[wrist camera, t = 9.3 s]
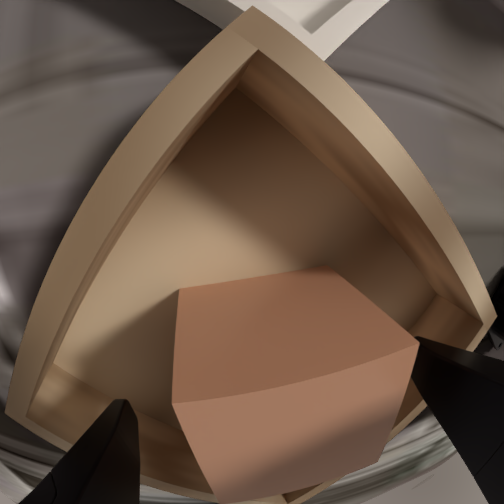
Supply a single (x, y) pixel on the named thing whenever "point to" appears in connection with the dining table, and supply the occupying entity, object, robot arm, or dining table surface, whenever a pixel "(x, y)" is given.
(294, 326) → the clay block
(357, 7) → the tray
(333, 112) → the wooden bin
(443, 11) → the dining table surface
